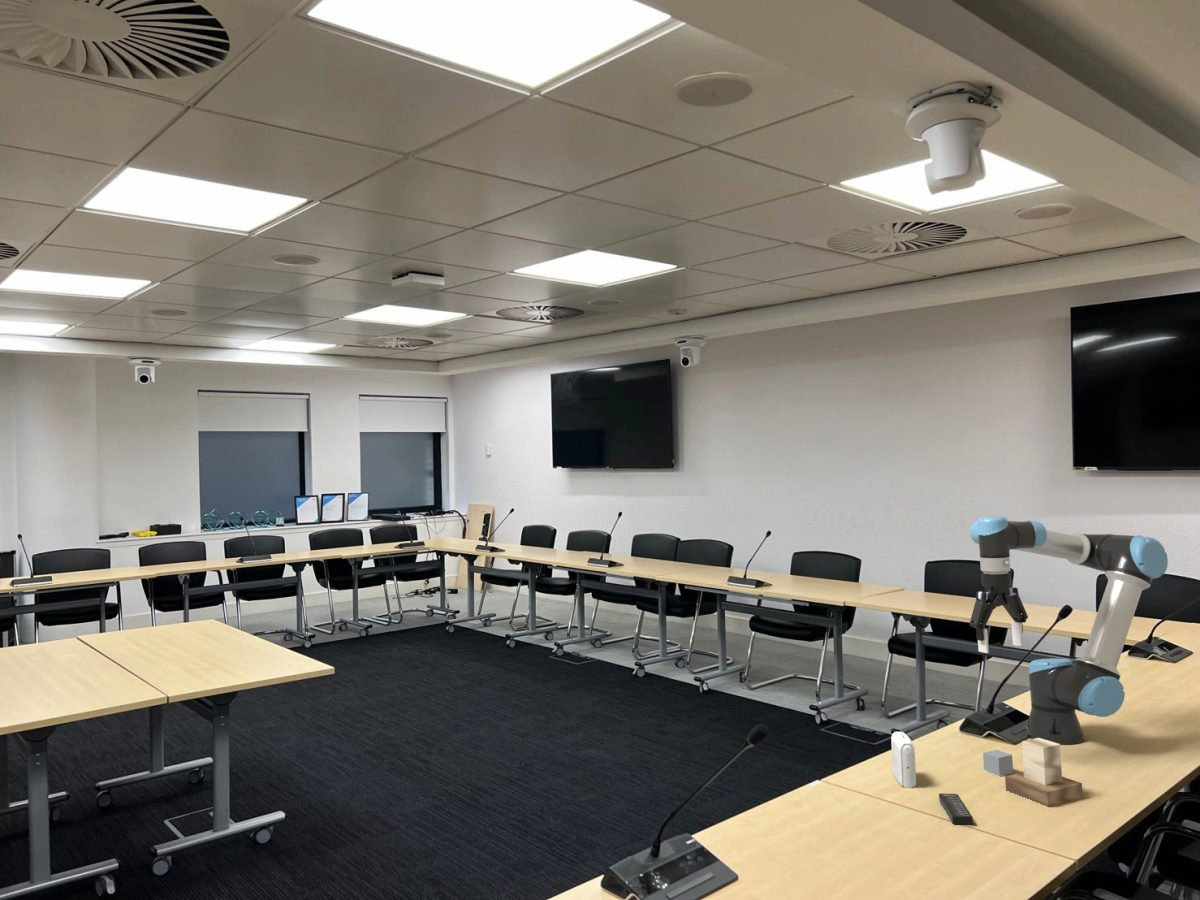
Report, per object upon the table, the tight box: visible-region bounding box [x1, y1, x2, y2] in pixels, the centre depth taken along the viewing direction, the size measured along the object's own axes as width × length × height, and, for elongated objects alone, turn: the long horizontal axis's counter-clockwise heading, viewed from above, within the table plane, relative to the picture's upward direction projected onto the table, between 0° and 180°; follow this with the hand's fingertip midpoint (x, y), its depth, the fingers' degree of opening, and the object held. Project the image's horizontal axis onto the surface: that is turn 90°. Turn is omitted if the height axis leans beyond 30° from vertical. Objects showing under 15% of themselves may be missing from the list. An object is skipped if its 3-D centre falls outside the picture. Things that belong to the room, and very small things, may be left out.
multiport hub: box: [938, 793, 974, 826], centre depth 196 cm, size 4×14×2 cm, turn 170°
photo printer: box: [890, 731, 917, 789], centre depth 218 cm, size 10×4×12 cm, turn 175°
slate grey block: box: [982, 749, 1014, 777], centre depth 221 cm, size 5×5×5 cm
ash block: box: [1021, 738, 1063, 785], centre depth 206 cm, size 6×6×9 cm
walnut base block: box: [1004, 771, 1084, 808], centre depth 205 cm, size 12×12×4 cm
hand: (1001, 649), depth 229 cm, fingers open, 13 cm apart
